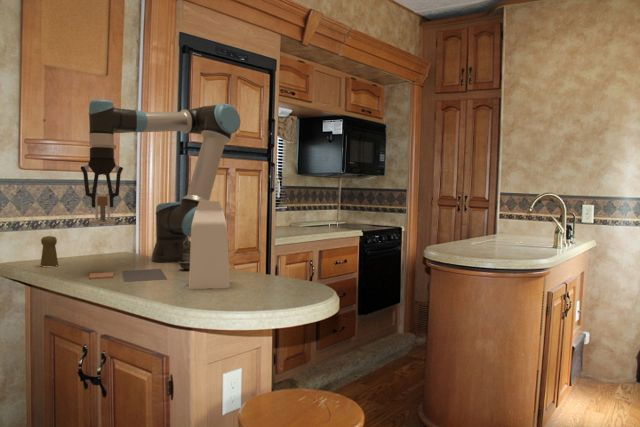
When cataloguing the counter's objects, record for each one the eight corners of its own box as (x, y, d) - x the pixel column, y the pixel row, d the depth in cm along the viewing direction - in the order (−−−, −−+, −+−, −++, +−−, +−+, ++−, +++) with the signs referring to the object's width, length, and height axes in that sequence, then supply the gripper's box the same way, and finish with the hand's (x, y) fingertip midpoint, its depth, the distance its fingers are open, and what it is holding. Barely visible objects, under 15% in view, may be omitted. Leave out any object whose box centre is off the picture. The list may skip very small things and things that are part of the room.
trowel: (90, 221, 190) (90, 195, 190) (115, 220, 193) (115, 195, 193) (89, 224, 176) (88, 197, 176) (115, 223, 179) (115, 197, 179)
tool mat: (160, 270, 194) (160, 268, 194) (167, 281, 174) (167, 279, 174) (121, 272, 189) (121, 270, 189) (124, 283, 169) (124, 281, 169)
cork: (53, 267, 199) (52, 237, 198) (36, 267, 199) (36, 237, 198) (61, 264, 205) (61, 235, 204) (45, 264, 205) (45, 235, 204)
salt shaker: (198, 270, 195) (197, 237, 195) (192, 273, 189) (192, 238, 189) (182, 270, 196) (182, 236, 195) (176, 272, 190) (175, 238, 189)
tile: (112, 272, 183) (113, 276, 175) (112, 277, 183) (113, 281, 175) (90, 273, 180) (89, 277, 173) (90, 278, 180) (89, 282, 173)
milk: (188, 289, 162) (188, 201, 160) (190, 282, 173) (190, 200, 172) (229, 288, 164) (229, 201, 163) (228, 281, 175) (228, 200, 174)
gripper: (127, 148, 189) (127, 216, 190) (76, 146, 183) (77, 216, 184) (127, 147, 182) (128, 217, 183) (74, 145, 176) (76, 218, 177)
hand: (102, 217), depth 184 cm, fingers closed on trowel, 3 cm apart
